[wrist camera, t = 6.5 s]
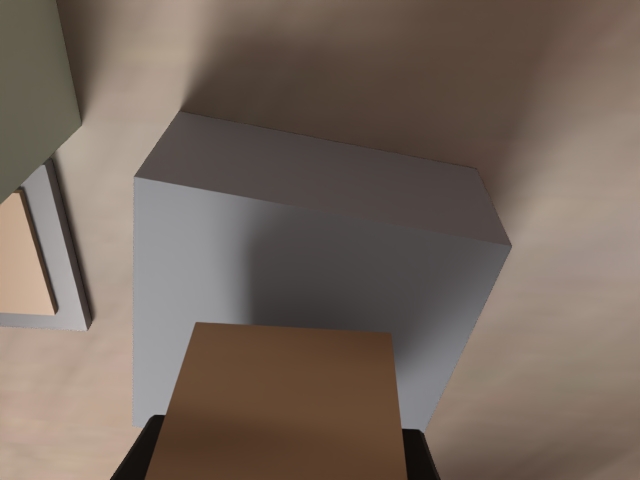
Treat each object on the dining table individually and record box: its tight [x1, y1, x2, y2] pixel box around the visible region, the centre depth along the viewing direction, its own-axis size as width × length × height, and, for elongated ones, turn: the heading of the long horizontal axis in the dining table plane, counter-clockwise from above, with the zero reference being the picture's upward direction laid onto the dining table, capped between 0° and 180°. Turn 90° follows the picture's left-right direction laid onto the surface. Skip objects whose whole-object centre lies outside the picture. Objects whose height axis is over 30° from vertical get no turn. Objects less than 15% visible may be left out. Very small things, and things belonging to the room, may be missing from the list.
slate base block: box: [132, 111, 512, 433], centre depth 15 cm, size 8×8×4 cm
